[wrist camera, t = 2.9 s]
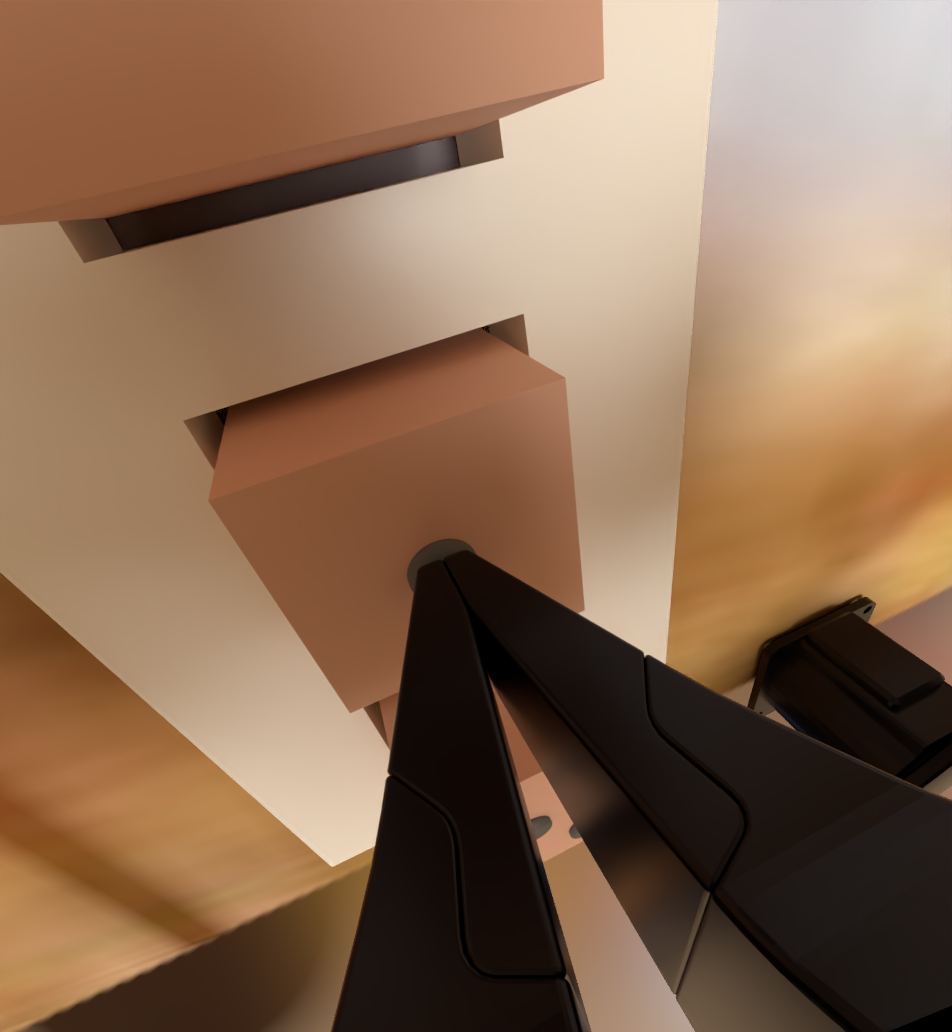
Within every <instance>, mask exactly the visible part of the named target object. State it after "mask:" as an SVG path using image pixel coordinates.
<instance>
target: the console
mask: <svg viewBox="0 0 952 1032" xmlns="http://www.w3.org/2000/svg"><path fill="white" fill-rule="evenodd" d="M602 2H603V45H604V79H602V80H599V81H597V82H594V83H591V84H589V85H586V86H584V87H581V88H578V89H576V90H573V91H571V92H568V93H565V94H563V95H560V96H558V97H555V98H552V99H550V100H547V101H545V102H542V103H539V104H537V105H534V106H532V107H529V108H526V109H524V110H521V111H519V112H516V113H513V114H511V115H508V116H506V117H503V118H500V119H498V120H495V121H493V122H490V123H488V124H485V125H482V126H480V127H477V128H475V129H472V130H469V131H467V132H464V133H462V134H459V135H456V136H455V137H456V142H457V148H458V154H459V160H460V165H461V167H458V168H454V169H450V170H446V171H442V172H438V173H434V174H430V175H426V176H422V177H418V178H414V179H410V180H406V181H402V182H398V183H394V184H390V185H386V186H382V187H378V188H374V189H370V190H366V191H362V192H358V193H354V194H350V195H346V196H342V197H338V198H334V199H330V200H326V201H322V202H318V203H314V204H310V205H306V206H302V207H298V208H295V209H291V210H287V211H283V212H279V213H275V214H271V215H267V216H263V217H259V218H255V219H251V220H247V221H243V222H239V223H235V224H231V225H227V226H223V227H219V228H215V229H211V230H207V231H203V232H199V233H195V234H191V235H187V236H183V237H179V238H175V239H171V240H167V241H163V242H159V243H155V244H151V245H147V246H143V247H139V248H135V249H131V250H127V251H123V250H122V248H121V246H120V244H119V243H118V241H117V239H116V237H115V236H114V234H113V232H112V230H111V229H110V227H109V225H108V224H107V222H106V220H105V218H97V219H83V220H68V221H53V222H39V223H24V224H10V225H0V573H1V574H2V575H4V576H5V577H6V578H7V579H8V580H9V581H10V582H11V583H13V584H14V585H15V586H16V587H17V588H18V589H19V590H20V591H22V592H23V593H24V594H25V595H26V596H27V597H28V598H29V599H31V600H32V601H33V602H34V603H35V604H36V605H37V606H39V607H40V608H41V609H42V610H43V611H44V612H45V613H46V614H48V615H49V616H50V617H51V618H52V619H53V620H54V621H55V622H57V623H58V624H59V625H60V626H61V627H62V628H63V629H64V630H66V631H67V632H68V633H69V634H70V635H71V636H72V637H73V638H75V639H76V640H77V641H78V642H79V643H80V644H81V645H82V646H84V647H85V648H86V649H87V650H88V651H89V652H90V653H91V654H93V655H94V656H95V657H96V658H97V659H98V660H99V661H100V662H102V663H103V664H104V665H105V666H106V667H107V668H108V669H109V670H111V671H112V672H113V673H114V674H115V675H116V676H117V677H118V678H120V679H121V680H122V681H123V682H124V683H125V684H126V685H127V686H129V687H130V688H131V689H132V690H133V691H134V692H135V693H136V694H138V695H139V696H140V697H141V698H142V699H143V700H144V701H145V702H147V703H148V704H149V705H150V706H151V707H152V708H153V709H155V710H156V711H157V712H158V713H159V714H160V715H161V716H162V717H164V718H165V719H166V720H167V721H168V722H169V723H170V724H171V725H173V726H174V727H175V728H176V729H177V730H178V731H179V732H180V733H182V734H183V735H184V736H185V737H186V738H187V739H188V740H189V741H191V742H192V743H193V744H194V745H195V746H196V747H197V748H198V749H200V750H201V751H202V752H203V753H204V754H205V755H206V756H207V757H209V758H210V759H211V760H212V761H213V762H214V763H215V764H216V765H218V766H219V767H220V768H221V769H222V770H223V771H224V772H225V773H227V774H228V775H229V776H230V777H231V778H232V779H233V780H234V781H236V782H237V783H238V784H239V785H240V786H241V787H242V788H243V789H245V790H246V791H247V792H248V793H249V794H250V795H251V796H252V797H254V798H255V799H256V800H257V801H258V802H259V803H260V804H261V805H263V806H264V807H265V808H266V809H267V810H268V811H269V812H270V813H272V814H273V815H274V816H275V817H276V818H277V819H278V820H280V821H281V822H282V823H283V824H284V825H285V826H286V827H287V828H289V829H290V830H291V831H292V832H293V833H294V834H295V835H296V836H298V837H299V838H300V839H301V840H302V841H303V842H304V843H305V844H307V845H308V846H309V847H310V848H311V849H312V850H313V851H314V852H316V853H317V854H318V855H319V856H320V857H321V858H322V859H323V860H325V861H326V862H327V863H328V864H329V865H330V866H331V867H333V866H335V865H337V864H339V863H341V862H343V861H345V860H347V859H350V858H352V857H354V856H356V855H358V854H360V853H362V852H364V851H366V850H368V849H370V848H372V847H374V846H375V842H376V837H377V831H378V825H379V820H380V814H381V808H382V801H383V794H384V787H385V781H386V778H387V777H388V776H390V775H389V774H388V772H387V769H388V763H389V756H390V749H389V745H388V740H387V735H386V731H385V726H384V721H383V717H382V712H381V708H380V703H379V701H377V702H375V703H373V704H370V705H368V706H366V707H364V708H361V709H359V710H357V711H354V712H352V713H349V711H348V710H347V708H346V707H345V705H344V704H343V702H342V701H341V699H340V698H339V696H338V695H337V693H336V692H335V690H334V689H333V687H332V686H331V684H330V683H329V681H328V680H327V678H326V677H325V675H324V674H323V672H322V671H321V669H320V668H319V666H318V665H317V663H316V662H315V660H314V659H313V657H312V656H311V654H310V653H309V651H308V650H307V648H306V647H305V645H304V644H303V642H302V641H301V639H300V638H299V636H298V635H297V633H296V632H295V630H294V629H293V627H292V626H291V624H290V623H289V621H288V620H287V618H286V617H285V615H284V614H283V612H282V611H281V609H280V608H279V606H278V605H277V603H276V602H275V600H274V599H273V597H272V596H271V594H270V593H269V591H268V590H267V588H266V587H265V585H264V584H263V582H262V581H261V579H260V578H259V576H258V575H257V573H256V572H255V570H254V569H253V567H252V566H251V564H250V563H249V561H248V560H247V558H246V557H245V555H244V554H243V552H242V551H241V549H240V548H239V546H238V545H237V543H236V542H235V540H234V539H233V537H232V536H231V534H230V533H229V531H228V530H227V528H226V527H225V525H224V524H223V522H222V521H221V519H220V518H219V516H218V515H217V513H216V512H215V510H214V509H213V507H212V506H211V504H210V503H209V501H208V500H209V495H210V490H211V486H212V481H213V477H214V472H215V467H216V463H217V458H218V454H219V449H220V444H221V440H222V435H223V431H224V425H223V424H222V422H221V420H220V419H219V417H218V415H217V413H216V412H215V410H219V409H222V408H225V407H228V406H231V405H234V404H238V403H241V402H244V401H247V400H250V399H254V398H257V397H260V396H263V395H266V394H269V393H273V392H276V391H279V390H282V389H285V388H289V387H292V386H295V385H298V384H301V383H305V382H308V381H311V380H314V379H317V378H320V377H324V376H327V375H330V374H333V373H336V372H340V371H343V370H346V369H349V368H352V367H355V366H359V365H362V364H365V363H368V362H371V361H375V360H378V359H381V358H384V357H387V356H390V355H394V354H397V353H400V352H403V351H406V350H410V349H413V348H416V347H419V346H422V345H426V344H429V343H432V342H435V341H438V340H441V339H445V338H448V337H451V336H454V335H457V334H461V333H464V332H467V331H470V330H473V329H476V328H480V327H483V326H486V325H488V326H489V332H490V334H491V335H493V336H495V337H496V338H498V339H500V340H502V341H503V342H505V343H507V344H508V345H510V346H512V347H514V348H515V349H517V350H519V351H520V352H522V353H524V354H526V355H527V356H529V357H531V358H532V359H534V360H536V361H538V362H539V363H541V364H543V365H544V366H546V367H548V368H550V369H551V370H553V371H555V372H556V373H558V374H560V375H561V376H563V377H565V378H566V390H567V402H568V414H569V426H570V438H571V450H572V462H573V474H574V486H575V498H576V510H577V522H578V534H579V546H580V558H581V570H582V582H583V594H584V606H585V610H584V611H582V612H580V613H578V614H580V615H582V616H583V617H585V618H587V619H588V620H590V621H592V622H594V623H595V624H597V625H599V626H600V627H602V628H604V629H606V630H607V631H609V632H611V633H612V634H614V635H616V636H618V637H619V638H621V639H623V640H625V641H626V642H628V643H630V644H631V645H633V646H635V647H637V648H638V649H640V650H642V651H643V652H644V658H645V656H646V655H651V656H652V657H654V658H656V659H658V660H659V661H661V662H663V663H664V664H666V653H667V640H668V628H669V615H670V603H671V590H672V578H673V565H674V553H675V540H676V528H677V515H678V503H679V490H680V477H681V465H682V452H683V440H684V427H685V415H686V402H687V390H688V377H689V365H690V352H691V340H692V327H693V315H694V302H695V290H696V277H697V265H698V252H699V240H700V227H701V215H702V202H703V190H704V177H705V165H706V152H707V140H708V127H709V115H710V102H711V90H712V77H713V65H714V52H715V39H716V27H717V14H718V2H719V0H602Z"/></svg>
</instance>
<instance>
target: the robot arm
mask: <svg viewBox="0 0 952 1032" xmlns="http://www.w3.org/2000/svg"><path fill="white" fill-rule="evenodd" d="M875 606H876V603H875V602H874V601H872V600H871V599H869V598H868V597H864V598H862V599H860V600H857V601H855V602H853V603H851V604H849V605H847V606H845V607H843V608H841V609H839V610H837V611H835V612H833V613H831V614H829V615H827V616H825V617H823V618H821V619H819V620H817V621H815V622H813V623H810V624H808V625H806V626H804V627H802V628H800V629H798V630H796V631H794V632H792V633H790V634H788V635H786V636H784V637H782V638H780V639H778V640H776V641H774V642H772V643H770V644H769V645H768V646H767V647H766V648H765V649H764V650H763V653H762V656H761V660H760V663H759V667H758V670H757V674H756V678H755V681H754V685H753V689H752V692H751V696H750V699H749V703H748V707H745V706H743V705H741V704H739V703H737V702H735V701H732V700H731V699H729V698H727V697H725V696H723V695H721V694H719V693H717V692H715V691H713V690H711V689H709V688H707V687H706V686H704V685H702V684H700V683H698V682H696V681H695V680H693V679H691V678H689V677H687V676H686V675H684V674H682V673H680V672H678V671H676V670H675V669H673V668H671V667H669V666H668V665H666V664H664V663H663V662H661V661H659V660H658V659H656V658H654V657H652V656H651V655H646V656H645V658H644V652H643V651H642V650H640V649H638V648H637V647H635V646H633V645H631V644H630V643H628V642H626V641H625V640H623V639H621V638H619V637H618V636H616V635H614V634H612V633H611V632H609V631H607V630H606V629H604V628H602V627H600V626H599V625H597V624H595V623H594V622H592V621H590V620H588V619H587V618H585V617H583V616H582V615H580V614H578V613H576V612H575V611H573V610H571V609H569V608H568V607H566V606H564V605H563V604H561V603H559V602H557V601H556V600H554V599H552V598H551V597H549V596H547V595H545V594H544V593H542V592H540V591H539V590H537V589H535V588H533V587H532V586H530V585H528V584H526V583H525V582H523V581H521V580H520V579H518V578H516V577H514V576H513V575H511V574H509V573H508V572H506V571H504V570H502V569H501V568H499V567H497V566H496V565H494V564H492V563H490V562H489V561H487V560H485V559H483V558H482V557H480V556H478V555H477V554H475V553H473V552H471V551H470V550H467V549H464V550H461V551H458V552H456V553H453V554H451V555H448V556H446V557H445V558H444V562H443V561H442V560H436V561H433V562H430V563H428V564H425V565H423V566H421V567H419V568H418V570H417V573H416V580H415V587H414V593H413V600H412V607H411V614H410V620H409V627H408V634H407V641H406V648H405V654H404V661H403V668H402V675H401V681H400V688H399V695H398V702H397V708H396V715H395V722H394V729H393V735H392V742H391V749H390V756H389V763H388V769H387V772H388V774H389V775H390V776H388V777H387V778H386V781H385V787H384V794H383V801H382V808H381V814H380V820H379V825H378V831H377V837H376V842H375V848H374V853H373V859H372V865H371V869H370V874H369V878H368V882H367V887H366V891H365V895H364V900H363V904H362V909H361V913H360V917H359V922H358V926H357V930H356V934H355V938H354V942H353V947H352V950H351V954H350V959H349V962H348V966H347V970H346V974H345V978H344V982H343V986H342V990H341V994H340V997H339V1002H338V1005H337V1009H336V1013H335V1017H334V1021H333V1025H332V1029H331V1032H591V1028H590V1025H589V1021H588V1018H587V1015H586V1011H585V1008H584V1004H583V1001H582V998H581V994H580V990H579V987H578V983H577V980H576V976H575V973H574V969H573V966H572V962H571V959H570V956H569V952H568V948H567V945H566V941H565V938H564V935H563V931H562V927H561V925H560V920H559V917H558V914H557V910H556V907H555V903H554V900H553V896H552V893H551V889H550V886H549V882H548V879H547V875H546V872H545V868H544V865H543V861H542V858H541V854H540V851H539V847H538V844H537V840H536V837H535V833H534V830H533V826H532V823H531V820H530V816H529V813H528V809H527V806H526V802H525V799H524V795H523V792H522V788H521V785H520V781H519V778H518V774H517V771H516V767H515V764H514V760H513V757H512V753H511V750H510V746H509V743H508V739H507V736H506V732H505V729H504V726H503V722H502V719H501V715H500V712H499V708H498V705H497V701H496V698H495V695H494V691H493V688H492V685H493V687H494V688H495V690H496V692H497V694H498V696H499V697H500V699H501V701H502V703H503V704H504V706H505V708H506V709H507V711H508V713H509V715H510V716H511V718H512V720H513V721H514V723H515V725H516V727H517V728H518V730H519V732H520V733H521V735H522V737H523V738H524V740H525V742H526V744H527V745H528V747H529V749H530V750H531V752H532V754H533V756H534V757H535V759H536V761H537V762H538V764H539V766H540V767H541V769H542V771H543V773H544V774H545V776H546V778H547V779H548V781H549V783H550V785H551V786H552V788H553V790H554V791H555V793H556V795H557V796H558V798H559V800H560V802H561V803H562V805H563V807H564V808H565V810H566V812H567V814H568V815H569V817H570V819H571V820H572V822H573V824H574V825H575V827H576V829H577V831H578V832H579V834H580V836H581V837H582V839H583V841H584V843H585V844H586V846H587V848H588V849H589V851H590V853H591V854H592V856H593V858H594V860H595V861H596V863H597V865H598V866H599V868H600V870H601V871H602V873H603V875H604V877H605V878H606V880H607V882H608V883H609V885H610V887H611V888H612V890H613V892H614V893H615V895H616V897H617V899H618V900H619V902H620V904H621V906H622V907H623V909H624V910H625V912H626V914H627V916H628V917H629V919H630V921H631V923H632V924H633V926H634V928H635V929H636V931H637V933H638V935H639V936H640V938H641V940H642V941H643V943H644V945H645V947H646V948H647V950H648V952H649V953H650V955H651V957H652V958H653V960H654V962H655V964H656V965H657V967H658V968H659V970H660V972H661V974H662V976H663V977H664V979H665V980H666V982H667V984H668V986H669V987H670V989H671V991H672V992H673V994H677V995H676V999H677V1001H678V1003H679V1005H680V1006H681V1008H682V1010H683V1012H684V1013H685V1015H686V1017H687V1018H688V1020H689V1022H690V1023H691V1025H692V1027H693V1028H694V1030H695V1032H952V800H950V799H948V798H945V797H943V796H940V795H939V794H941V793H942V792H943V791H945V790H946V789H947V788H949V787H950V786H951V785H952V686H951V685H949V684H947V683H946V682H945V681H944V680H945V678H944V676H943V675H942V674H941V673H940V672H938V671H937V670H935V669H934V668H933V667H931V666H930V665H928V664H927V663H925V662H924V661H922V660H921V659H920V658H918V657H917V656H915V655H914V654H912V653H911V652H910V651H908V650H907V649H905V648H904V647H903V646H901V645H900V644H898V643H897V642H895V641H894V640H892V639H891V638H890V637H888V636H887V635H885V634H884V633H882V632H881V631H880V630H878V629H877V628H875V627H874V626H872V625H871V624H870V623H868V621H869V619H870V616H871V614H872V612H873V610H874V608H875ZM490 680H491V682H492V685H491V682H490ZM775 710H776V711H777V712H778V713H780V715H781V716H782V717H783V718H785V720H786V721H788V723H789V724H791V726H792V727H793V728H794V729H796V730H794V729H792V728H790V727H787V726H785V725H783V724H781V723H779V722H776V721H774V720H772V719H770V718H768V717H766V716H765V715H767V714H769V713H771V712H773V711H775Z"/></svg>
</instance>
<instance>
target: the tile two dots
mask: <svg viewBox="0 0 952 1032" xmlns="http://www.w3.org/2000/svg"><path fill="white" fill-rule="evenodd" d="M602 79H604V45H603V2H602V0H0V225H10V224H24V223H39V222H53V221H68V220H83V219H97V218H112V217H116V216H120V215H124V214H128V213H132V212H137V211H141V210H145V209H149V208H153V207H158V206H162V205H166V204H170V203H174V202H179V201H183V200H187V199H191V198H195V197H200V196H204V195H208V194H212V193H216V192H221V191H225V190H229V189H233V188H237V187H242V186H246V185H250V184H254V183H258V182H263V181H267V180H271V179H275V178H279V177H284V176H288V175H292V174H296V173H300V172H305V171H309V170H313V169H317V168H321V167H325V166H330V165H334V164H338V163H342V162H346V161H351V160H355V159H359V158H363V157H367V156H372V155H376V154H380V153H384V152H388V151H393V150H397V149H401V148H405V147H409V146H414V145H418V144H422V143H426V142H430V141H435V140H439V139H443V138H447V137H451V136H456V135H459V134H462V133H464V132H467V131H469V130H472V129H475V128H477V127H480V126H482V125H485V124H488V123H490V122H493V121H495V120H498V119H500V118H503V117H506V116H508V115H511V114H513V113H516V112H519V111H521V110H524V109H526V108H529V107H532V106H534V105H537V104H539V103H542V102H545V101H547V100H550V99H552V98H555V97H558V96H560V95H563V94H565V93H568V92H571V91H573V90H576V89H578V88H581V87H584V86H586V85H589V84H591V83H594V82H597V81H599V80H602Z"/></svg>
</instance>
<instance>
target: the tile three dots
mask: <svg viewBox="0 0 952 1032" xmlns="http://www.w3.org/2000/svg"><path fill="white" fill-rule="evenodd" d="M490 682H491V680H490ZM491 685H492V682H491ZM492 688H493V691H494V695H495V698H496V701H497V705H498V708H499V712H500V715H501V719H502V722H503V726H504V729H505V732H506V736H507V739H508V743H509V746H510V750H511V753H512V757H513V760H514V764H515V767H516V771H517V774H518V778H519V781H520V785H521V788H522V792H523V795H524V799H525V802H526V806H527V809H528V813H529V816H530V820H531V823H532V826H533V830H534V833H535V837H536V840H537V844H538V847H539V851H540V854H541V858H542V861H543V862H545V861H547V860H548V859H550V858H552V857H554V856H556V855H558V854H560V853H562V852H564V851H565V850H567V849H569V848H571V847H573V846H575V845H577V844H579V843H580V842H582V841H583V839H582V837H581V836H580V834H579V832H578V831H577V829H576V827H575V825H574V824H573V822H572V820H571V819H570V817H569V815H568V814H567V812H566V810H565V808H564V807H563V805H562V803H561V802H560V800H559V798H558V796H557V795H556V793H555V791H554V790H553V788H552V786H551V785H550V783H549V781H548V779H547V778H546V776H545V774H544V773H543V771H542V769H541V767H540V766H539V764H538V762H537V761H536V759H535V757H534V756H533V754H532V752H531V750H530V749H529V747H528V745H527V744H526V742H525V740H524V738H523V737H522V735H521V733H520V732H519V730H518V728H517V727H516V725H515V723H514V721H513V720H512V718H511V716H510V715H509V713H508V711H507V709H506V708H505V706H504V704H503V703H502V701H501V699H500V697H499V696H498V694H497V692H496V690H495V688H494V687H493V685H492ZM398 695H399V692H398V693H395V694H393V695H391V696H389V697H386V698H384V699H382V700H379V703H380V708H381V712H382V717H383V721H384V726H385V731H386V735H387V740H388V745H389V749H391V742H392V735H393V729H394V722H395V715H396V708H397V702H398Z"/></svg>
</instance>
